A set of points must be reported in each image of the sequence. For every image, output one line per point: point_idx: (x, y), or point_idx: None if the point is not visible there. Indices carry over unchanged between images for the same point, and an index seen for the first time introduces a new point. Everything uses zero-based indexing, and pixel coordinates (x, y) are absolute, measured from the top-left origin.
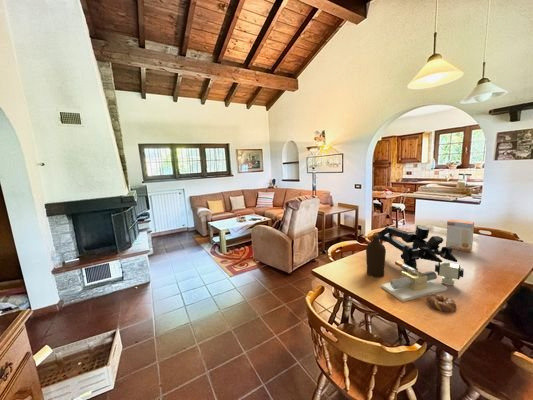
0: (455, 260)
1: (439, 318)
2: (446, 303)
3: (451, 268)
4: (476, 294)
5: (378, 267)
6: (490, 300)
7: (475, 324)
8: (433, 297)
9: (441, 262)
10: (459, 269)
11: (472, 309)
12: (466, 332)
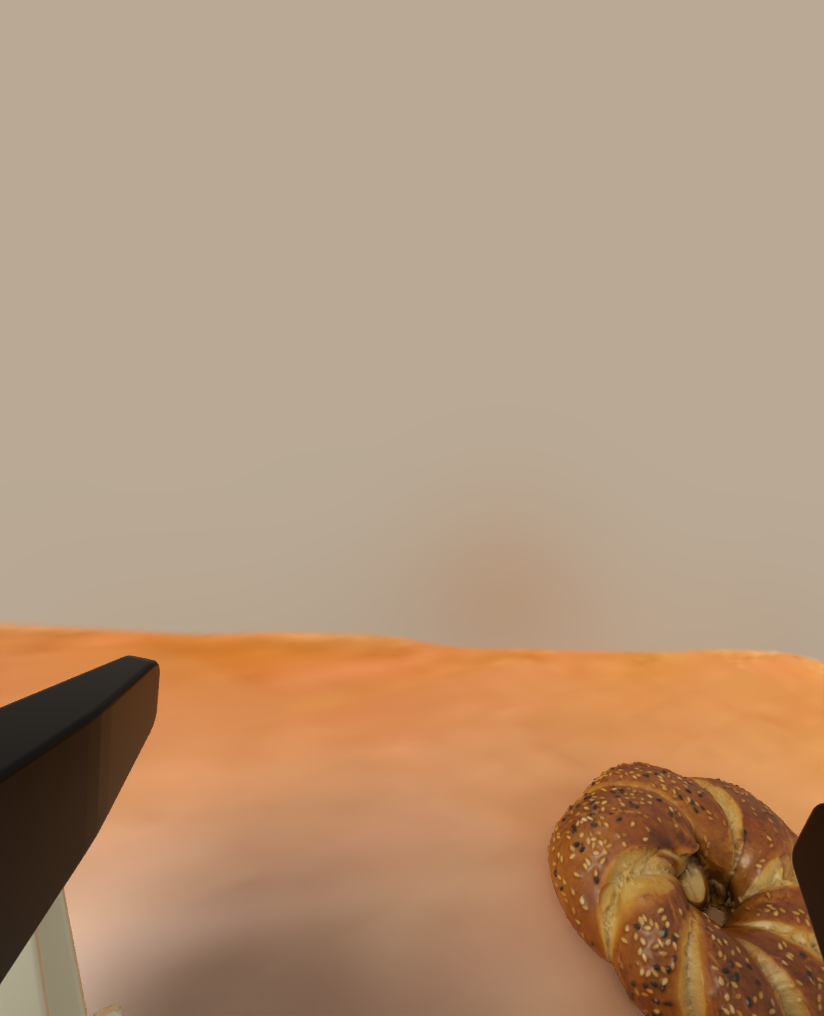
0: (133, 715)
1: (809, 809)
2: (718, 802)
3: (114, 1009)
4: None
5: None
6: None
7: (599, 659)
8: (803, 948)
9: (820, 850)
10: None
11: (456, 719)
12: (707, 667)
